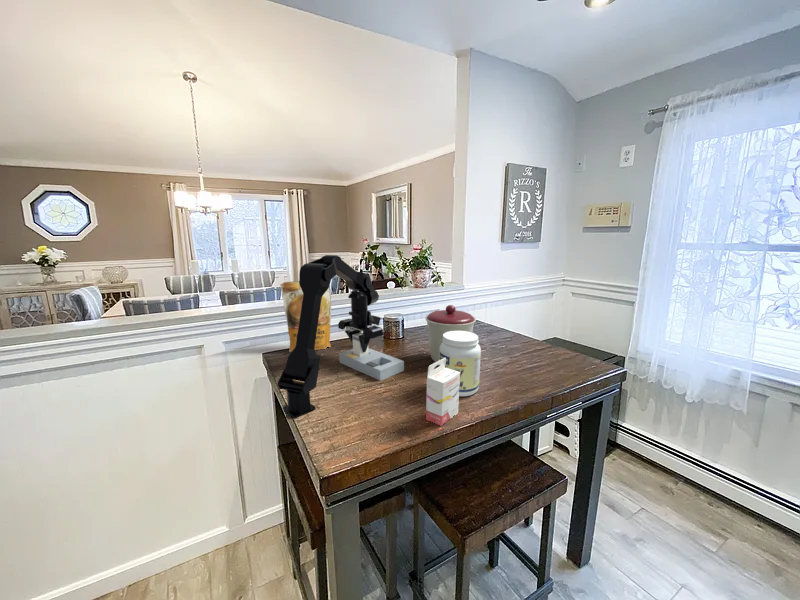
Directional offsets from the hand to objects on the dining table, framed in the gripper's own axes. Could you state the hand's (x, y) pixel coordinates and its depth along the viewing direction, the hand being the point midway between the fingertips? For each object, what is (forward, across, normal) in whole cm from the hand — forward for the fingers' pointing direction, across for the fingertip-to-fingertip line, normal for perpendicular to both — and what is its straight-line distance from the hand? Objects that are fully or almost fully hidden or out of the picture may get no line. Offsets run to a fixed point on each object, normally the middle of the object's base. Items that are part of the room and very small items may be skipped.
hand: (360, 350), depth 120 cm
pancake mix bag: (+5, +26, +5) cm, 27 cm away
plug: (+3, 0, 0) cm, 3 cm away
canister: (+5, -22, -24) cm, 33 cm away
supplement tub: (+5, -38, -8) cm, 39 cm away
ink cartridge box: (+5, -43, +8) cm, 44 cm away
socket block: (+4, -6, 0) cm, 7 cm away
